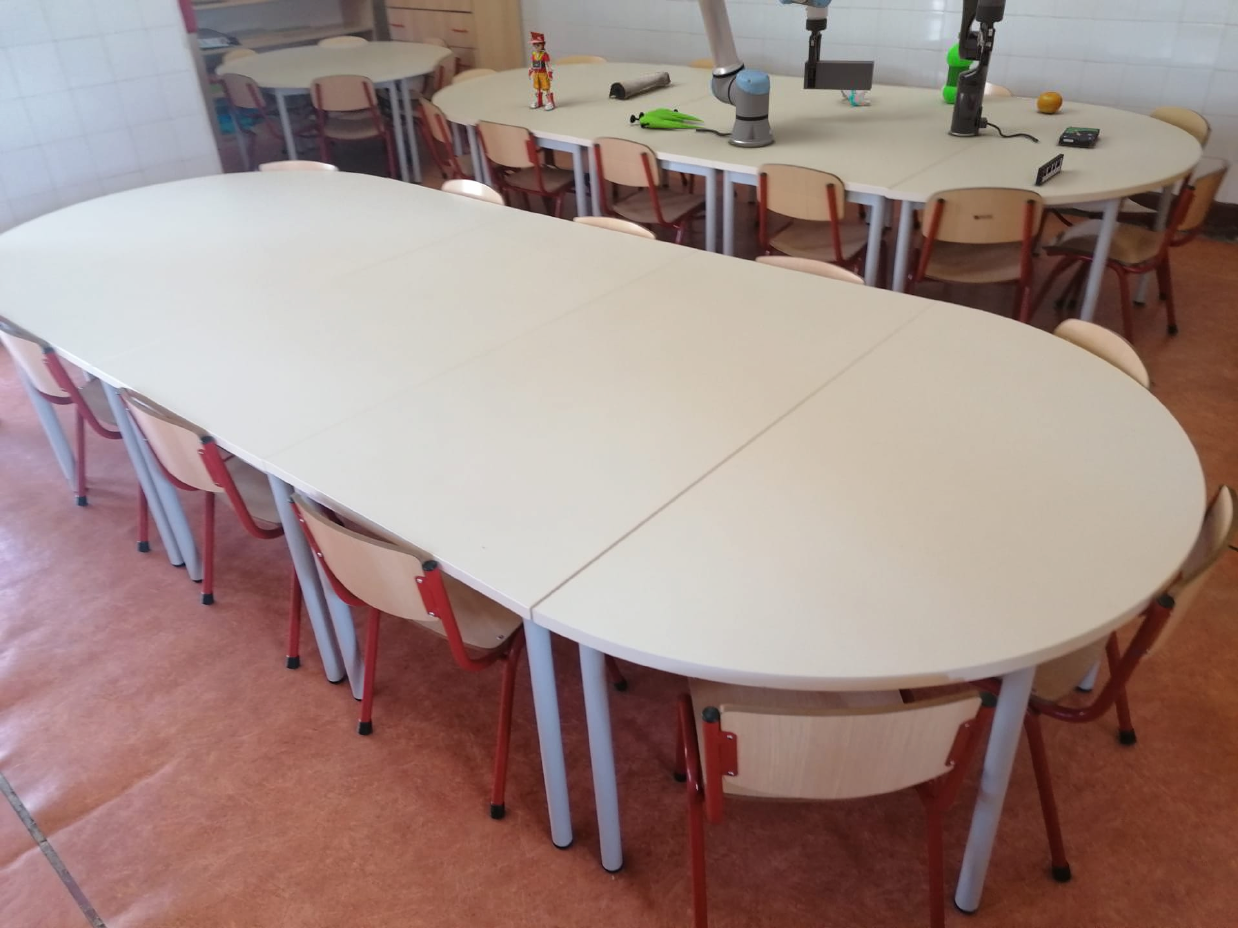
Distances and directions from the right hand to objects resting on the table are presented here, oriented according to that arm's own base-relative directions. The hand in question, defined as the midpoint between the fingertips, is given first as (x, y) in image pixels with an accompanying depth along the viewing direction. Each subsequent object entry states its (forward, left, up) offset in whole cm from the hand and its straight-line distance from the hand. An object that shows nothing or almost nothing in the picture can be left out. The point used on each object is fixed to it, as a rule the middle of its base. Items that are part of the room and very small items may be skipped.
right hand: (981, 63), depth 266 cm
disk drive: (-40, -34, -32) cm, 62 cm away
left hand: (+50, -64, -20) cm, 84 cm away
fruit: (-38, -73, -32) cm, 88 cm away
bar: (+40, -63, -20) cm, 77 cm away
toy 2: (+102, -55, -32) cm, 121 cm away
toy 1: (+162, -84, -32) cm, 186 cm away
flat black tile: (-24, +6, -32) cm, 40 cm away
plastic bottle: (-6, -90, -32) cm, 95 cm away
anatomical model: (+34, -90, -32) cm, 101 cm away
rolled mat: (+125, -111, -32) cm, 170 cm away
